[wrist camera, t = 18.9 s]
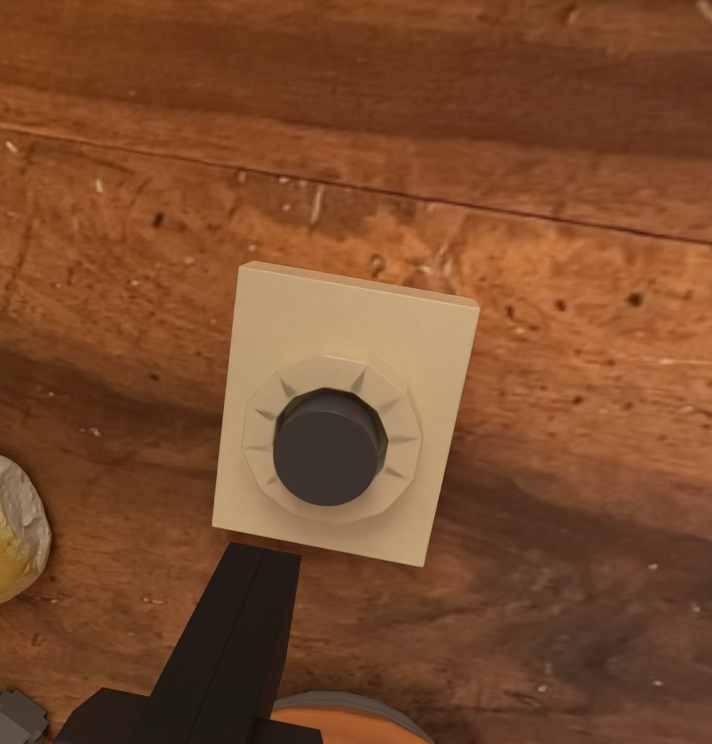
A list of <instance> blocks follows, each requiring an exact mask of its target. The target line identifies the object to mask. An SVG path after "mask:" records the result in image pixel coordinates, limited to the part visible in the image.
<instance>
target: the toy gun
mask: <svg viewBox="0 0 712 744" xmlns="http://www.w3.org/2000/svg"><path fill="white" fill-rule="evenodd" d="M45 714H46V711H45V710H44V709H42V708H41V707H40V706H38V705H37V704H36V703H34V702H33V701H32V700H30V699H29V698H28V697H26V696H25V695H24V694H22V693H21V692H20V691H18V690H17V689H16V690H15V691H14V692H13V693H12V694H11V693H10V692H8V691H7V690H5V691H4V692H3V693H2V694H1V695H0V744H44V743H42V742H43V740H44V739H45V737H46V736H44V735H43V734H42V732H43V731H44V729H45V728H46V726H47V725H48V723H49V721H47V720H46V719H45V718H43V717H44V715H45Z"/></svg>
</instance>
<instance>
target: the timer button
mask: <svg viewBox="0 0 712 744" xmlns="http://www.w3.org/2000/svg"><path fill="white" fill-rule="evenodd" d="M379 447H380V437H379V432H378V428H377V426H376V423H375V421H374V420H373V418H372V416H371V415H370V414H369V413H368V411H367V410H366V409H365V408H363V407H362V406H361V405H360V404H358V403H357V402H355V401H353V400H351V399H349V398H347V397H344V396H340V395H333V394H325V395H318V396H314V397H311V398H309V399H306V400H305V401H303V402H301V403H300V404H299V405H297V406H296V407H295V408H294V409H293V410H292V412H291V413H290V414H289V416H288V418H287V419H286V421H285V423H284V425H283V426H282V428H281V430H280V432H279V433H278V435H277V437H276V440H275V443H274V448H273V462H274V467H275V470H276V473H277V475H278V477H279V479H280V481H281V482H282V483H283V485H284V486H285V487H286V488H287V489H288V491H290V492H291V493H292V494H293V495H294V496H296V497H297V498H299V499H301V500H303V501H305V502H307V503H310V504H314V505H318V506H337V505H342V504H345V503H348V502H350V501H352V500H354V499H356V498H357V497H358V496H360V495H361V494H362V493H363V492H364V491H365V490H366V489H367V488H368V487H369V485H370V484H371V482H372V480H373V478H374V476H375V472H376V468H377V462H378V455H379Z"/></svg>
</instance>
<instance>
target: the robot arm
mask: <svg viewBox="0 0 712 744" xmlns="http://www.w3.org/2000/svg"><path fill="white" fill-rule="evenodd" d="M301 558H302V556H301V555H296V554H291V553H286V552H281V551H275V550H270V549H265V548H260V547H255V546H250V545H244V544H239V543H234V542H230V543H229V545H228V547H227V549H226V551H225V552H224V554H223V556H222V558H221V560H220V562H219V564H218V566H217V568H216V570H215V572H214V574H213V576H212V577H211V579H210V581H209V583H208V585H207V587H206V589H205V591H204V593H203V595H202V597H201V599H200V601H199V603H198V604H197V606H196V608H195V610H194V612H193V614H192V616H191V618H190V620H189V622H188V624H187V626H186V628H185V629H184V631H183V633H182V635H181V637H180V639H179V641H178V643H177V645H176V647H175V649H174V651H173V653H172V654H171V656H170V658H169V660H168V662H167V664H166V666H165V668H164V670H163V672H162V674H161V676H160V678H159V679H158V681H157V683H156V685H155V687H154V689H153V691H152V693H151V695H150V697H148V696H143V695H138V694H133V693H128V692H123V691H118V690H114V689H109V688H104V687H103V688H101V689H100V690H99V691H98V692H96V693H95V694H94V695H92V696H91V697H90V698H89V699H87V700H86V701H85V702H84V703H82V704H81V705H80V706H79V707H77V708H76V709H75V710H74V711H73V712H72V713H71V715H70V716H69V718H68V720H67V721H66V723H65V724H64V726H63V727H62V729H61V730H60V732H59V733H58V735H57V736H56V738H55V739H54V741H53V743H52V744H324V742H323V739H322V735H321V731H320V729H315V728H310V727H305V726H300V725H296V724H291V723H286V722H281V721H276V720H271V719H270V717H271V713H272V710H273V706H274V702H275V699H276V695H277V691H278V688H279V684H280V680H281V676H282V673H283V669H284V665H285V660H286V654H287V647H288V641H289V635H290V628H291V622H292V615H293V609H294V603H295V596H296V590H297V584H298V577H299V571H300V564H301Z"/></svg>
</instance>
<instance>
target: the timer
mask: <svg viewBox="0 0 712 744" xmlns="http://www.w3.org/2000/svg"><path fill="white" fill-rule="evenodd" d="M479 314H480V307H479V306H478V304H477V302H476V300H475V299H472V298H467V297H461V296H455V295H450V294H444V293H438V292H432V291H427V290H421V289H415V288H409V287H404V286H398V285H392V284H386V283H381V282H375V281H369V280H364V279H358V278H352V277H346V276H341V275H335V274H329V273H323V272H318V271H312V270H306V269H301V268H295V267H289V266H283V265H278V264H272V263H266V262H260V261H255V260H254V261H251V262H249V263H247V264H244V265H242V266H239V268H238V278H237V288H236V297H235V307H234V316H233V326H232V336H231V345H230V355H229V365H228V374H227V384H226V393H225V403H224V413H223V422H222V432H221V442H220V451H219V461H218V470H217V480H216V490H215V499H214V509H213V519H212V526H213V527H218V528H223V529H228V530H233V531H238V532H244V533H249V534H254V535H259V536H264V537H269V538H274V539H279V540H285V541H290V542H295V543H300V544H305V545H310V546H315V547H320V548H326V549H331V550H336V551H341V552H346V553H351V554H356V555H361V556H367V557H372V558H377V559H382V560H387V561H392V562H397V563H402V564H408V565H413V566H418V567H423V566H424V561H425V557H426V552H427V548H428V543H429V539H430V534H431V530H432V525H433V521H434V516H435V512H436V507H437V503H438V498H439V494H440V489H441V485H442V481H443V476H444V472H445V467H446V463H447V458H448V454H449V449H450V445H451V440H452V436H453V431H454V427H455V422H456V418H457V413H458V409H459V404H460V400H461V395H462V391H463V386H464V382H465V377H466V373H467V368H468V364H469V359H470V355H471V350H472V346H473V341H474V337H475V332H476V328H477V323H478V319H479ZM325 394H333V395H340V396H344V397H347V398H349V399H351V400H353V401H355V402H357V403H358V404H360V405H361V406H362V407H363V408H365V409H366V410H367V411H368V413H369V414H370V415H371V416H372V418H373V420H374V421H375V423H376V426H377V428H378V432H379V437H380V447H379V455H378V462H377V468H376V472H375V476H374V478H373V480H372V482H371V484H370V485H369V487H368V488H367V489H366V490H365V491H364V492H363V493H362V494H361V495H360V496H358V497H357V498H356V499H354V500H352V501H350V502H348V503H345V504H342V505H337V506H318V505H314V504H310V503H307V502H305V501H303V500H301V499H299V498H297V497H296V496H294V495H293V494H292V493H291V492H290V491H288V489H287V488H286V487H285V486H284V485H283V483H282V482H281V481H280V479H279V477H278V475H277V473H276V470H275V467H274V462H273V448H274V443H275V440H276V437H277V435H278V433H279V432H280V430H281V428H282V426H283V425H284V423H285V421H286V419H287V418H288V416H289V414H290V413H291V412H292V410H293V409H294V408H295V407H296V406H297V405H299V404H300V403H301V402H303V401H305V400H306V399H309V398H311V397H314V396H318V395H325Z"/></svg>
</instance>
